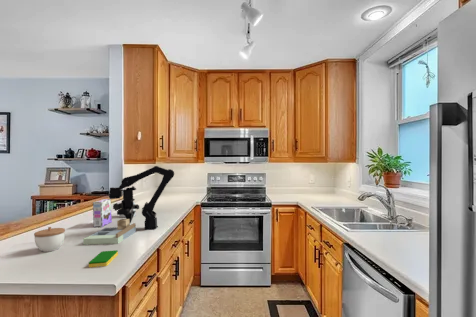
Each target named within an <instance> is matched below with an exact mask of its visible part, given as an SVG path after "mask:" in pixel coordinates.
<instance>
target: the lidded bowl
mask: <svg viewBox="0 0 476 317" xmlns="http://www.w3.org/2000/svg"><path fill="white" fill-rule="evenodd" d="M65 233H66V230H65V228H64V227H53V228H52V227H51V226H48V227H47V228H46V229H45V228H44V229H41V230H38V231H36V232H34V234H33V236H34V242H35V243H34V244H35V246H36V247H37V248H38V249H39V250H40V251H41V252H42V253H45V252H46V253H48V252H55V251H57V250H59V249H60V247H61V246H62V245H63V243H64V242H65V236H66V234H65Z"/></svg>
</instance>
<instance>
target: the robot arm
mask: <svg viewBox="0 0 476 317" xmlns="http://www.w3.org/2000/svg"><path fill="white" fill-rule="evenodd" d="M154 174H159V175H162V176H163V177H162V180H161V182H160V183H159V185H158V187H157V189H156V190H155V192H154V193H153V196H152V197H151V198H150V201H146V202H145V203H144V205H143V207H142V208H141V214H142V216H143V217H144V218H145V219H144V230H156V229H157V228H158V227H159V226H158V218H157V212H156V211H154V209H155V205H156V204H157V202H158V200H159V198H160V196H161V195H162V193H163V191H164V190H165V188H166V186H167V185H168V184H169V182H170V181H172V179H173V178H174V177H175V171H174V170H173V169H172V168H171V169H170V168H169V169H166V168H164V167H161V166H159V165H155V166H152V167H151V168H149V169H147V170H145V171H141V172H139V173H137V174H134V175H131V176H126V177H124V178H122V180H121V184H120V185H119V187H109V193H108V199H111V200H116V199H118V200H119V199H121V198H122V200H121V202H119V203H120V204H119V203H118V202H115V203H113V205H112V209H113V210H114V211H115V212H116V214H117V216H119V215H125V217H124V218H125V219H130V224H131V223H132V221H133V218H134V217H135V216H134V214H135V212H136V213H137V211H136V210H140V205H139V204H136V203H135V205H134V204H133V202H135V198H134V191H136V190H137V188H136V187H135V186H134V184H135V183H137V182H139V181H140V180H143V179H145V178H146V177H149V176H151V175H154ZM133 209H135V211H133Z"/></svg>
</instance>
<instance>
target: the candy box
mask: <svg viewBox="0 0 476 317" xmlns="http://www.w3.org/2000/svg"><path fill="white" fill-rule="evenodd" d="M111 200H112V199H110V198H107V199H106V198H105V199H104V198H102V199H100V200H96V201H92V216H93V218H92V220H93V228H103V227H105V226H107V225H109V224H111V223H112V219H113V218H112V203H111V202H112V201H111Z"/></svg>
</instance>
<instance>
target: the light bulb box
mask: <svg viewBox="0 0 476 317" xmlns="http://www.w3.org/2000/svg"><path fill="white" fill-rule="evenodd" d="M120 203H121V202H119V203H118V204H120ZM133 204H134V205H136V202H135V201H133ZM133 211H136V209H133ZM136 213H137V211H136V212H135V214H134V216H133V217H136V216H137V215H136ZM118 217H119V218H126V217H125V215H118Z"/></svg>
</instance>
